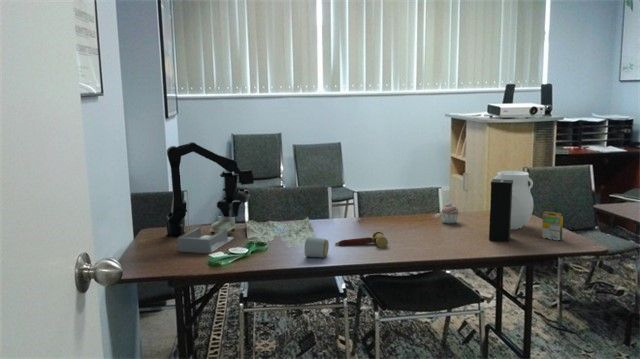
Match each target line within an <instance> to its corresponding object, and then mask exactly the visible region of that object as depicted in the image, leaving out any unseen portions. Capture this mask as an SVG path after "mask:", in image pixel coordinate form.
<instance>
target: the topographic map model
mask: <svg viewBox="0 0 640 359" xmlns="http://www.w3.org/2000/svg"><path fill="white" fill-rule="evenodd" d="M287 224H288V225H289V226H287ZM286 226H287V227H286ZM284 227H285V229H284ZM245 229H246V238H247V239H250V240H247V242H249V241H262V242H266V243H265V244H267V243H268V241H269V242H271V241H273V240H274V239H275V238H277V237H279V239H280V240H281V241H283V242H286V247H287V248H294V246H293V245H296V246H297V247H298V246H301V247H305V241H306V238H307V237H308V236H309V237H316V234H315V232H314V227H313V226H312V223H310V219H309V216H305V218H304V219H303V220H301V219H298V220H297V221H291V222H289V223H283V222H279V221H272V220H269V221H266V222H261V221H259V222H257V221H255V220H246V221H245ZM283 229H284V231H285V232H284V231H283ZM281 231H282V232H281ZM286 231H287V232H286ZM251 238H254V239H251ZM303 242H304V243H303ZM249 243H250V242H249Z"/></svg>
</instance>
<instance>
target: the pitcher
mask: <svg viewBox="0 0 640 359" xmlns="http://www.w3.org/2000/svg"><path fill="white" fill-rule="evenodd" d="M502 173H503V175H504V177H503V180H513V185H512V206H511V227H510V230H519V228H520V229H522V227H523V226H525V225H526V224H527V223H528V221H529V220H530V219H531V216H532V215H533V212H534V198H533V195H532V193H531V189H532V188H533V185H534V182H533V179H532V178H531V177H530V173H529V172H527V171H522V170H501V171H497V174H496V176H494V177H493V178H492V180H493V179H502ZM528 182H529V184H530V185H529V186H528V185H527V183H528ZM490 201H491V199H490ZM490 201H489V202H490Z"/></svg>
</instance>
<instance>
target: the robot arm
mask: <svg viewBox="0 0 640 359" xmlns="http://www.w3.org/2000/svg"><path fill="white" fill-rule="evenodd" d="M190 153H195V154H197V155H200V156H201V157H203V158H205V159H207V160H210V161H212V162H213V163H216V164H217V165H218V166H220V167H221V168H223V169H224V170H226V171H227V172H225V171H223V170H222V172H221V173H220V174H219V177H220V178H223V180H224V182H223V183H224V188H222V191H223V192H224V196H223V199H221V200H219V201H218V202H217V203H216V208H218V209H219V210H220V212H221V214H222V216H225V217H231V210H232V212H233V214H234V217H235V218H236V217H239V213H240V209H241V206H242V204H245V203H248V202H249V200H250V198H251V192H250V190H248V189H246V190H244V191H241V190H240V187H238V184H240V186H247V185H249V186H250V185H254V183H255V182H254V180H255V178H254V173H253V170H252V169H246V170H241V169H240V168H239V167H238V163H237V161H236V160H234V159H233V158H230V157H227V156H224V155H219V154H217V153H215V152H213V151H211V150H208V149H207V148H205V147H202V145H201V146H200V145H199V144H197V143H196V142H193V141H191V142H188V143H186V144H182V145H178V146H176V145H172V146H169V147H168V148H167V150H166V156H167V160H168V162H169V166H170V175H171V176H170V178H171V187H172V203H171V209H170V210H171V211H170V212H169V213H168V214H167V215H166V218H167V221H166V233H167V234H165V237H170V238H171V237H173V238H178V237H180V236H182V235H184V234H186V232H185V229H184V228H185V227H184V224H183V222H184V221H183V219H184V218H185V217H186V215H187V212H188V209H187V202H186V200H183V195H182V194H183V193H182V185H181V184H182V182H181V169H180V167H181V160H182V157H183V156H186V155H188V154H190Z"/></svg>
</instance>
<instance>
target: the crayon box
mask: <svg viewBox="0 0 640 359" xmlns="http://www.w3.org/2000/svg"><path fill="white" fill-rule="evenodd" d="M552 214H553V215H552ZM563 223H564V216H562V213H560V212H553V211H545V210H544V211H543V213H542V228H541V229H542V230H541V238H542V237H543V238H542V239H546V238H548V239H547V240H552V239H553V241H554V240H555V241H558V240H560V241H562V240H561V239H563V227H564V226H563V225H564V224H563Z"/></svg>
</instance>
